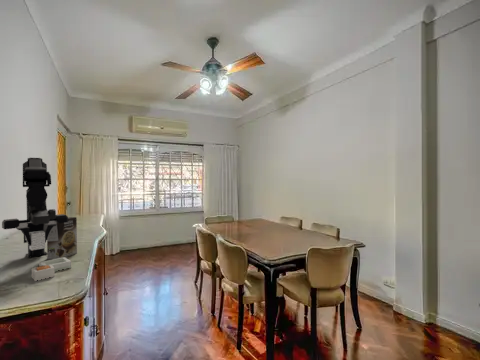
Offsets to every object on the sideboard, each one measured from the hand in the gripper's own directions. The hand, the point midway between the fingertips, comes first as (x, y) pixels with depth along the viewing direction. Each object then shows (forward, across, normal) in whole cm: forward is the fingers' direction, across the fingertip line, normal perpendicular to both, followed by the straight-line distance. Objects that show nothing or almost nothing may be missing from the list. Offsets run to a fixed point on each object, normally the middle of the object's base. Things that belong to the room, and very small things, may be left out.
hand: (37, 244), depth 97 cm
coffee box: (+9, +10, +10) cm, 17 cm away
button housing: (+9, -1, -13) cm, 16 cm away
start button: (+7, -1, -13) cm, 15 cm away
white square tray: (+9, +4, -6) cm, 11 cm away
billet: (+1, 0, 0) cm, 1 cm away
